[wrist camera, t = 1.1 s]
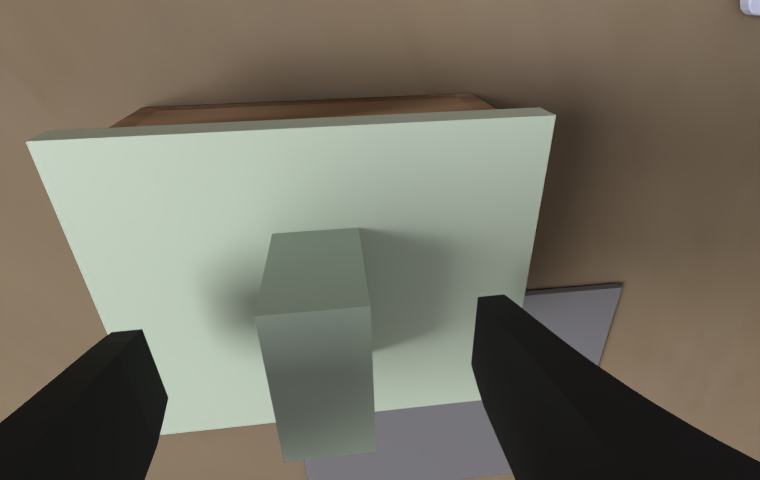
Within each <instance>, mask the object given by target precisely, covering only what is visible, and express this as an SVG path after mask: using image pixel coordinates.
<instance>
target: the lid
mask: <svg viewBox="0 0 760 480" xmlns="http://www.w3.org/2000/svg"><path fill="white" fill-rule="evenodd" d="M555 118H556V115H554V114H552V113H550V112H548V111H547V110H545V109H543V108H541V107H535V108H514V109H493V110H472V111H451V112H430V113H409V114H388V115H367V116H346V117H325V118H304V119H283V120H262V121H241V122H220V123H199V124H178V125H156V126H135V127H114V128H93V129H72V130H51V131H46V132H44V133H42V134H40V135H38V136H36V137H34V138H32V139H30V140H28V141H26V144H27V146H28V148H29V151H30V153H31V155H32V158H33V160H34V163H35V165H36V167H37V170H38V172H39V174H40V177H41V179H42V181H43V184H44V186H45V188H46V191H47V193H48V195H49V198H50V200H51V202H52V205H53V207H54V209H55V212H56V214H57V217H58V219H59V221H60V224H61V226H62V228H63V231H64V233H65V235H66V238H67V240H68V242H69V245H70V247H71V249H72V252H73V254H74V256H75V259H76V261H77V263H78V266H79V268H80V271H81V273H82V275H83V278H84V280H85V282H86V285H87V287H88V289H89V292H90V294H91V296H92V299H93V301H94V303H95V306H96V308H97V310H98V313H99V315H100V317H101V320H102V322H103V325H104V327H105V329H106V332H107V334H108V335H109V334H110V333H111V332H118V331H128V330H139V329H142V330H143V333H144V335H145V338H146V340H147V343H148V346H149V348H150V351H151V353H152V356H153V359H154V361H155V364H156V367H157V369H158V372H159V374H160V377H161V380H162V382H163V385H164V388H165V390H166V393H167V395H168V402H167V406H166V411H165V415H164V420H163V424H162V428H161V432H160V435H164V434H173V433H182V432H192V431H201V430H210V429H219V428H228V427H238V426H247V425H256V424H265V423H275V422H276V425H277V430H278V435H279V440H280V445H281V449H282V454H283V459H284V462H288V461H297V460H306V459H314V458H323V457H331V456H340V455H348V454H357V453H366V452H374V451H376V434H375V412H376V411H386V410H395V409H404V408H413V407H423V406H432V405H441V404H450V403H460V402H469V401H478V400H481V396H480V393H479V390H478V387H477V383H476V380H475V376H474V373H473V369H472V366H471V360H472V350H473V340H474V330H475V320H476V310H477V300H478V297H483V296H493V295H503V294H504V295H506V296H507V297H508V298H510V299H511V300H512V301H514V302H515V303H516V304H518V305H519V306H520V307H521V308H522V307H523V301H524V295H525V289H526V284H527V278H528V272H529V267H530V261H531V255H532V250H533V244H534V238H535V232H536V227H537V221H538V215H539V210H540V204H541V198H542V193H543V187H544V181H545V175H546V170H547V164H548V158H549V153H550V147H551V141H552V135H553V130H554V124H555Z"/></svg>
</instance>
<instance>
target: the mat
mask: <svg viewBox="0 0 760 480" xmlns="http://www.w3.org/2000/svg"><path fill="white" fill-rule="evenodd" d="M621 290H622V287H621V286H620V285H619V284H618V283H616V284H604V285H592V286H581V287H569V288H558V289H546V290H534V291H525V295H524V301H523V307H522V308H523V309H524V310H525V311H526V312H528V313H529V314H530V315H531V316H533V317H534V318H535V319H536V320H538V321H539V322H540V323H542V324H543V325H544V326H545V327H547V328H548V329H549V330H550V331H552V332H553V333H554V334H556V335H557V336H558V337H559V338H561V339H562V340H563V341H565V342H566V343H567V344H569V345H570V346H571V347H573V348H574V349H575V350H577V351H578V352H579V353H581V354H582V355H583V356H585V357H586V358H588V359H589V360H590V361H592V362H593V363H595V364H596V365H597V366H598V364H599V361H600V358H601V355H602V351H603V348H604V345H605V342H606V338H607V335H608V332H609V329H610V325H611V322H612V319H613V316H614V312H615V309H616V306H617V303H618V299H619V296H620V293H621ZM375 434H376V451H374V452H366V453H357V454H348V455H340V456H331V457H323V458H314V459H306V460H304V463H305V469H306V475H307V480H461V479H469V478H477V477H485V476H493V475H501V474H509V473H512V470H511V468H510V466H509V464H508V461H507V459H506V457H505V455H504V452H503V450H502V448H501V445H500V443H499V441H498V439H497V436H496V434H495V432H494V429H493V427H492V425H491V422H490V420H489V418H488V416H487V413H486V411H485V408H484V406H483V403H482V400H478V401H469V402H460V403H450V404H441V405H432V406H423V407H413V408H404V409H395V410H386V411H376V412H375Z"/></svg>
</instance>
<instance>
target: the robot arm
mask: <svg viewBox="0 0 760 480" xmlns="http://www.w3.org/2000/svg"><path fill="white" fill-rule="evenodd" d="M740 8H741V11H742V12H743V13H744V14H747V15H760V0H740ZM471 366H472V369H473V373H474V376H475V380H476V383H477V387H478V390H479V393H480V396H481V400H482V403H483V406H484V408H485V411H486V413H487V416H488V418H489V420H490V422H491V425H492V427H493V429H494V432H495V434H496V436H497V439H498V441H499V443H500V445H501V448H502V450H503V452H504V455H505V457H506V459H507V461H508V464H509V466H510V468H511V470H512V473H513V475H514V477H515V480H760V462H759V461H757V460H755V459H753V458H751V457H749V456H747V455H745V454H743V453H741V452H740V451H738V450H736V449H734V448H732V447H730V446H728V445H726V444H724V443H722V442H720V441H718V440H717V439H715V438H713V437H711V436H709V435H708V434H706V433H704V432H702V431H700V430H699V429H697V428H695V427H693V426H692V425H690V424H688V423H687V422H685V421H683V420H681V419H680V418H678V417H676V416H675V415H673V414H671V413H670V412H668V411H666V410H665V409H663V408H661V407H660V406H658V405H656V404H655V403H653V402H651V401H650V400H648V399H647V398H645V397H643V396H642V395H640V394H639V393H637V392H636V391H634V390H632V389H631V388H629V387H628V386H627V385H625V384H624V383H622V382H621V381H619V380H618V379H616V378H615V377H613V376H612V375H610V374H609V373H607V372H606V371H604V370H603V369H601V368H600V367H599V366H597V365H596V364H595V363H593V362H592V361H590V360H589V359H588V358H586V357H585V356H583V355H582V354H581V353H579V352H578V351H577V350H575V349H574V348H573V347H571V346H570V345H569V344H567V343H566V342H565V341H563V340H562V339H561V338H559V337H558V336H557V335H556V334H554V333H553V332H552V331H550V330H549V329H548V328H547V327H545V326H544V325H543V324H542V323H540V322H539V321H538V320H536V319H535V318H534V317H533V316H531V315H530V314H529V313H528V312H526V311H525V310H524V309H523V308H521V307H520V306H519V305H518V304H516V303H515V302H514V301H512V300H511V299H510V298H508V297H507V296H506V295H504V294H503V295H493V296H483V297H478V300H477V310H476V320H475V330H474V340H473V350H472V360H471ZM167 402H168V395H167V393H166V390H165V388H164V385H163V382H162V380H161V377H160V374H159V372H158V369H157V367H156V364H155V361H154V359H153V356H152V353H151V351H150V348H149V346H148V343H147V340H146V338H145V335H144V333H143V330H142V329H139V330H128V331H118V332H111V333H110V334H109V335H107V336H106V337H105V338H103V339H102V340H101V341H99V342H98V343H97V344H96V345H94V346H93V347H92V348H91V349H89V350H88V351H87V352H86V353H85V354H83V355H82V356H81V357H80V358H78V359H77V360H76V361H75V362H74V363H72V364H71V365H70V366H69V367H68V368H66V369H65V370H64V371H63V372H62V373H61V374H59V375H58V376H57V377H56V378H55V379H53V380H52V381H51V382H50V383H48V384H47V385H46V386H45V387H44V388H42V389H41V390H40V391H39V392H38V393H36V394H35V395H34V396H33V397H32V398H30V399H29V400H28V401H27V402H25V403H24V404H23V405H22V406H21V407H19V408H18V409H17V410H16V411H15V412H13V413H12V414H11V415H10V416H8V417H7V418H6V419H5V420H3V421H2V422H1V423H0V480H145V477H146V474H147V471H148V469H149V466H150V463H151V461H152V458H153V455H154V453H155V450H156V447H157V444H158V440H159V436H160V432H161V428H162V424H163V420H164V415H165V411H166V406H167Z"/></svg>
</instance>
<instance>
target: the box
mask: <svg viewBox="0 0 760 480" xmlns="http://www.w3.org/2000/svg"><path fill="white" fill-rule="evenodd" d="M493 109H495V108H494V107H492V106H490V105H489V104H487V103H486V102H484V101H483V100H481V99H480V98H478V97H477V96H475V95H473V94H472V93H462V94H440V95H417V96H394V97H371V98H349V99H326V100H303V101H280V102H257V103H235V104H212V105H189V106H166V107H144V108H141V109H139V110H137V111H136V112H134V113H132V114H131V115H129V116H127V117H126V118H124V119H122V120H121V121H119V122H117V123H116V124H114V125H112V126H111V127H109V128H114V127H135V126H156V125H178V124H199V123H220V122H241V121H262V120H283V119H304V118H325V117H346V116H367V115H388V114H409V113H430V112H451V111H472V110H493Z"/></svg>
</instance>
